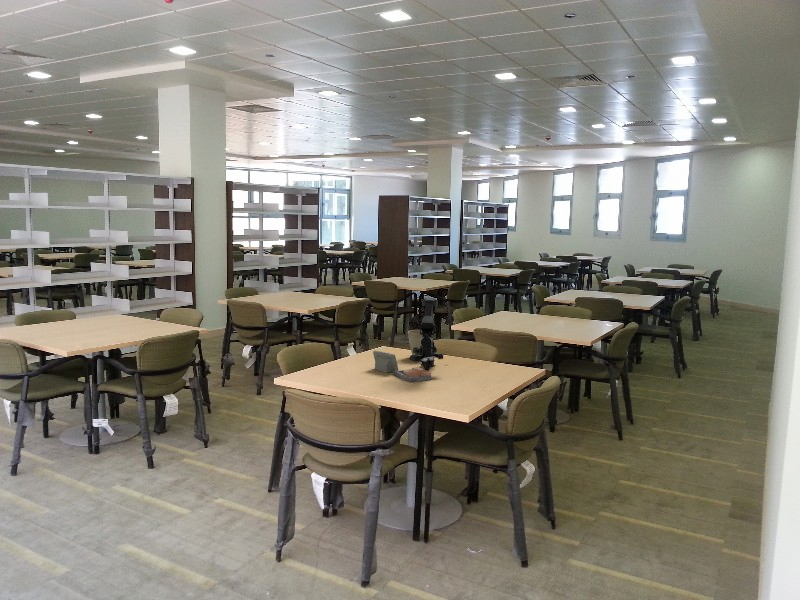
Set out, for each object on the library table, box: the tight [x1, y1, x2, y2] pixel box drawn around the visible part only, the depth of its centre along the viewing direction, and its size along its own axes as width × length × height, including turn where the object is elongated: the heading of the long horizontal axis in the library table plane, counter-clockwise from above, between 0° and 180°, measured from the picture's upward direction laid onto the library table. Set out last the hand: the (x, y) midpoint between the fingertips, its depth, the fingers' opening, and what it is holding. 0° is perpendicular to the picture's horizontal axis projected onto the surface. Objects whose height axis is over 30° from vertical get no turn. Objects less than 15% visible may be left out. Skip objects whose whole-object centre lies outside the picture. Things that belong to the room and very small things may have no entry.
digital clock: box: [372, 350, 399, 374], centre depth 356 cm, size 16×9×11 cm, turn 38°
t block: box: [403, 366, 432, 377], centre depth 343 cm, size 12×13×4 cm
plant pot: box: [407, 329, 422, 356], centre depth 393 cm, size 15×15×16 cm
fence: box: [392, 368, 432, 383], centre depth 342 cm, size 13×18×2 cm
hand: (426, 372), depth 347 cm, fingers closed
